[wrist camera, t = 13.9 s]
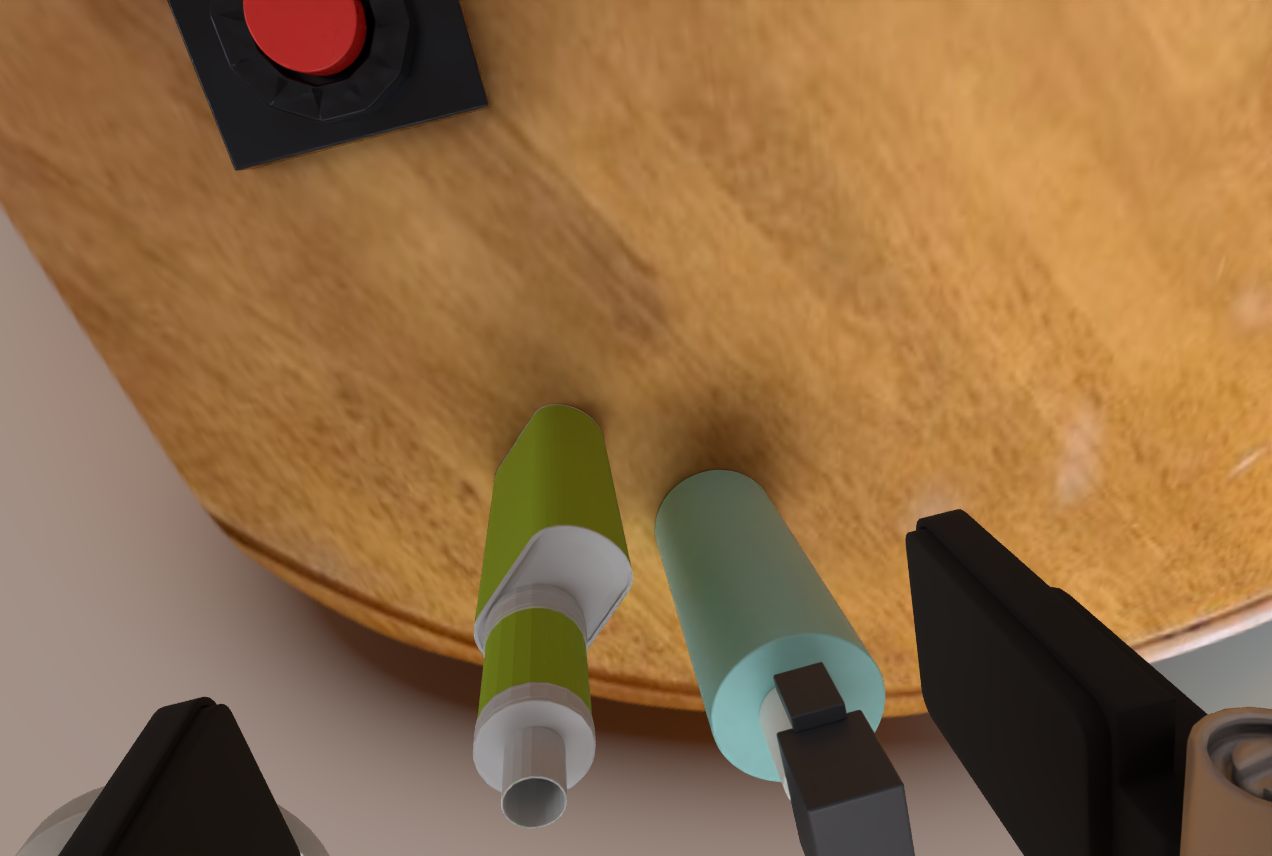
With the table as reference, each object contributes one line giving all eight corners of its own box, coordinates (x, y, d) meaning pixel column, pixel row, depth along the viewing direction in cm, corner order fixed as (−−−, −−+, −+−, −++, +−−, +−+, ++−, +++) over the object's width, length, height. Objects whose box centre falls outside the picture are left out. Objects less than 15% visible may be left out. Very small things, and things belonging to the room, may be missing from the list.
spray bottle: (642, 487, 39) (736, 806, 20) (761, 455, 39) (965, 742, 20) (669, 591, 41) (778, 967, 22) (783, 560, 41) (985, 908, 23)
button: (283, 87, 29) (268, 84, 27) (243, -24, 28) (224, -35, 26) (381, 61, 29) (372, 57, 27) (345, -50, 28) (333, -62, 26)
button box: (249, 169, 33) (217, 172, 29) (162, -53, 30) (115, -77, 26) (491, 107, 33) (486, 103, 29) (427, -119, 30) (413, -151, 27)
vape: (481, 494, 38) (424, 833, 20) (548, 391, 37) (555, 647, 18) (548, 530, 39) (555, 885, 21) (616, 431, 38) (689, 713, 19)
